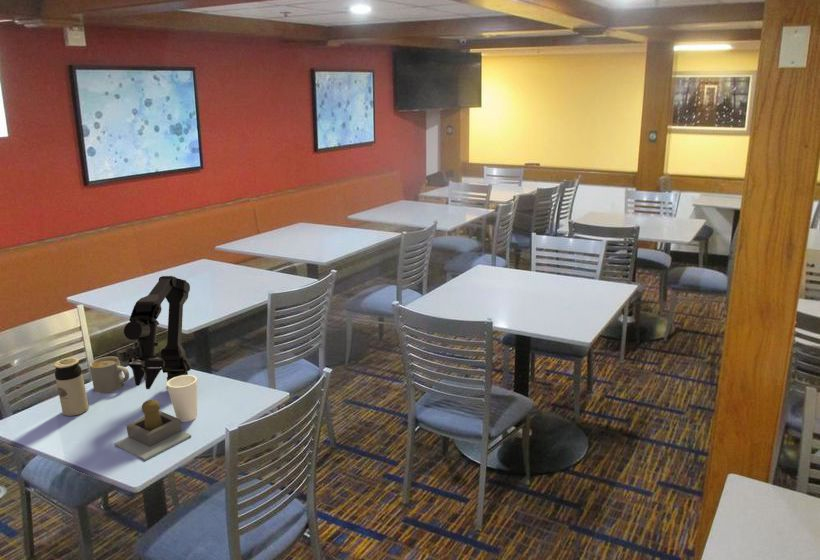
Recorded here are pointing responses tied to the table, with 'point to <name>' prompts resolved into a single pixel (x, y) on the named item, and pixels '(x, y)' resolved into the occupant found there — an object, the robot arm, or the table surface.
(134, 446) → the socket
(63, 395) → the travel mug
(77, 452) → the table surface
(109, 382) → the coffee mug
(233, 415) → the table surface
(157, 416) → the cork
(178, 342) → the robot arm
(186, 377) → the foam cup
